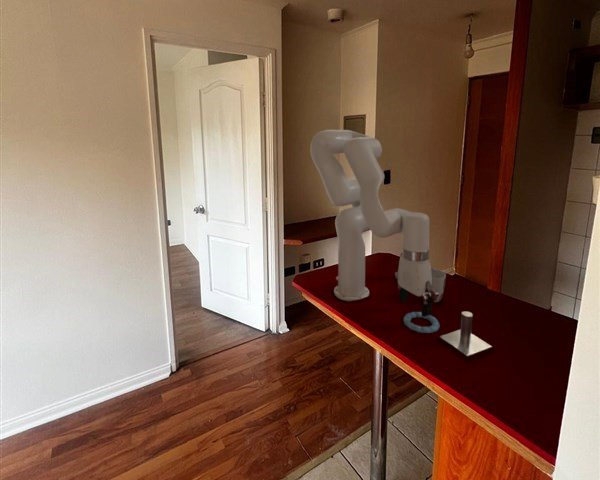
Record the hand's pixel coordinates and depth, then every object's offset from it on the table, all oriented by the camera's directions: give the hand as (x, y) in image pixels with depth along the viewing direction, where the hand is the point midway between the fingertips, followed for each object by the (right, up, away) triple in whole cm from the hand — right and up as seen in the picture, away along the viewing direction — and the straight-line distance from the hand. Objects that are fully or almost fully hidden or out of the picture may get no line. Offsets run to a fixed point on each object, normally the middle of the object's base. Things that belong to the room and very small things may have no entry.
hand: (414, 307), depth 99 cm
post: (+9, -6, -12) cm, 16 cm away
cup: (+10, -2, +12) cm, 16 cm away
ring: (+1, -4, -2) cm, 4 cm away
